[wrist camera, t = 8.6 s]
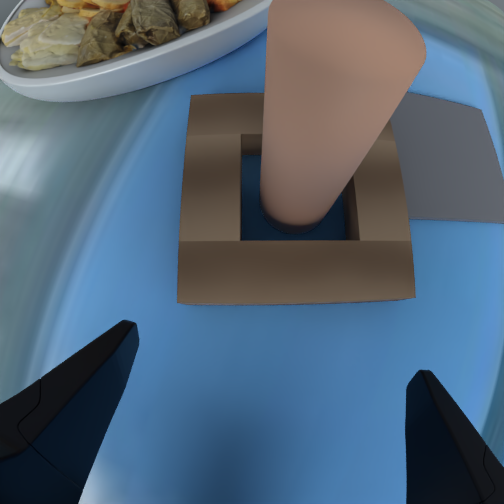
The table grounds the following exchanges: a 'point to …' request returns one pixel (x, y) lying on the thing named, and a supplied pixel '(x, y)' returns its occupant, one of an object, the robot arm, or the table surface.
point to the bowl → (118, 43)
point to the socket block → (284, 252)
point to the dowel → (328, 99)
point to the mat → (447, 161)
